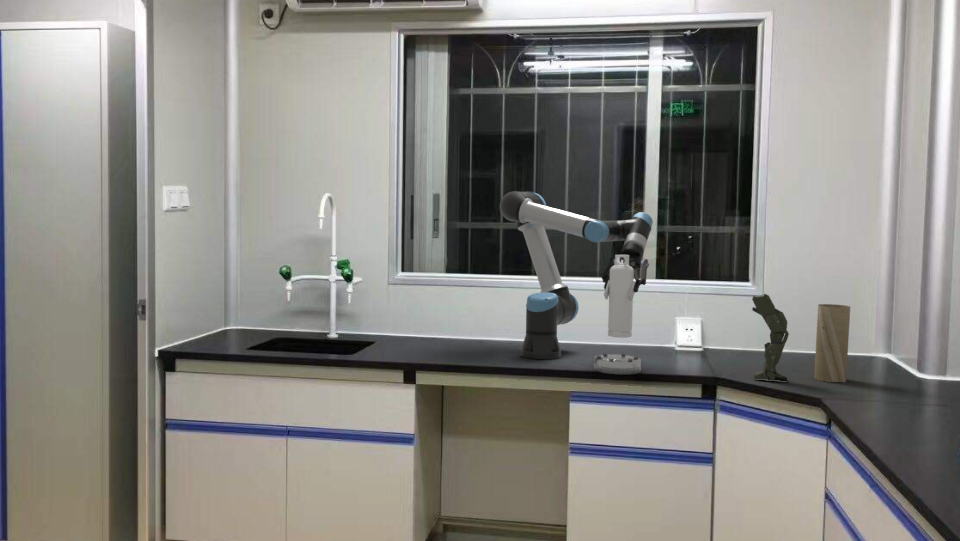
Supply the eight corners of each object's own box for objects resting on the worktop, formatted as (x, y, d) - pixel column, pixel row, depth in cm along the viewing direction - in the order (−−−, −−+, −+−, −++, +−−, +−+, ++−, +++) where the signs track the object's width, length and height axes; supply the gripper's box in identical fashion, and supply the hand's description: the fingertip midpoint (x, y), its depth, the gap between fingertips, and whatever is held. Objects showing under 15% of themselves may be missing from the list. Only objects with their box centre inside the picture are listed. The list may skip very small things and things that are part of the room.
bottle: (634, 335, 291) (636, 254, 289) (628, 338, 284) (630, 256, 282) (611, 333, 295) (614, 254, 293) (605, 336, 288) (607, 255, 285)
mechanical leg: (799, 377, 279) (780, 289, 279) (799, 382, 272) (780, 291, 272) (756, 383, 284) (738, 297, 284) (756, 388, 277) (737, 299, 277)
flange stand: (598, 374, 282) (598, 360, 282) (590, 365, 298) (590, 351, 298) (645, 374, 283) (645, 360, 283) (634, 365, 299) (635, 352, 299)
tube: (843, 384, 275) (847, 308, 273) (811, 380, 280) (815, 306, 278) (848, 379, 283) (852, 305, 282) (817, 375, 289) (821, 303, 287)
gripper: (664, 257, 296) (649, 306, 283) (608, 254, 306) (591, 302, 293) (660, 242, 291) (645, 292, 278) (603, 240, 301) (586, 288, 288)
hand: (617, 297), depth 286 cm, fingers closed on bottle, 8 cm apart
